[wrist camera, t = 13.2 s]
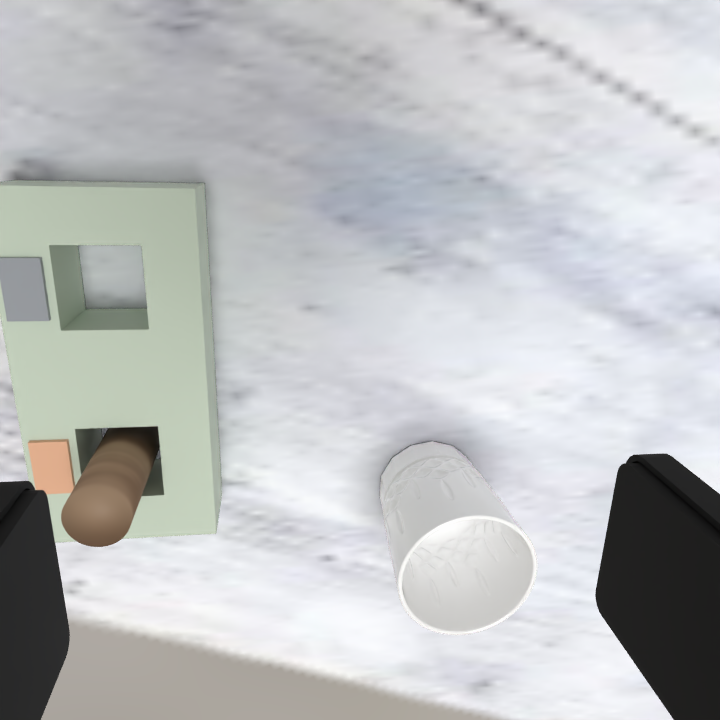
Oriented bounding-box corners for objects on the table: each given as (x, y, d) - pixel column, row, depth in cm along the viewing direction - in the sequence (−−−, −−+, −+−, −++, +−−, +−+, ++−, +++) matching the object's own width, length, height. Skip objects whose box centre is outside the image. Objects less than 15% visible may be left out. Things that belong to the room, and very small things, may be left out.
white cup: (353, 460, 42) (376, 551, 32) (461, 415, 42) (515, 493, 32) (393, 547, 44) (425, 655, 35) (494, 505, 44) (553, 602, 35)
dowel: (109, 405, 38) (56, 491, 29) (163, 404, 39) (128, 487, 29) (114, 452, 39) (65, 548, 30) (166, 450, 40) (134, 544, 30)
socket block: (9, 179, 33) (-33, 185, 29) (204, 183, 35) (194, 189, 30) (59, 501, 40) (32, 546, 35) (222, 493, 41) (215, 536, 37)
